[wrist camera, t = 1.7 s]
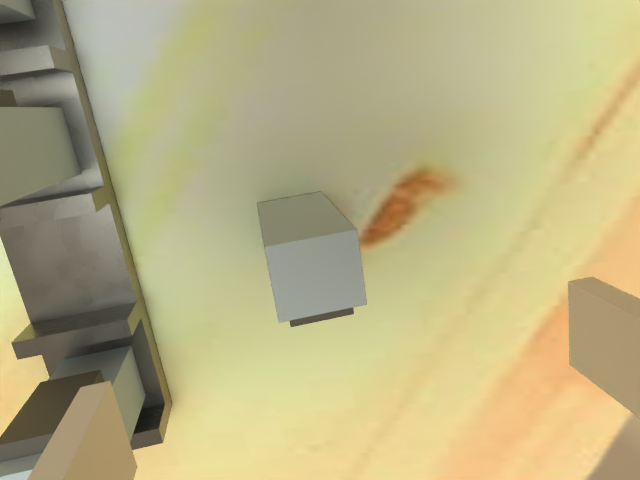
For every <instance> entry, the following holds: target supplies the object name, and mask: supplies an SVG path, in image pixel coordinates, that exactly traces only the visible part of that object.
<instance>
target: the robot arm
mask: <svg viewBox="0 0 640 480" xmlns="http://www.w3.org/2000/svg"><path fill="white" fill-rule="evenodd" d="M568 301H569V364H570V365H571V366H572V367H573V368H575V369H576V370H577V371H579V372H580V373H581V374H583V375H584V376H585V377H587V378H588V379H589V380H590V381H592V382H593V383H594V384H596V385H597V386H598V387H600V388H601V389H602V390H603V391H605V392H606V393H607V394H609V395H610V396H611V397H613V398H614V399H615V400H617V401H618V402H619V403H620V404H622V405H623V406H624V407H626V408H627V409H628V410H630V411H631V412H632V413H634V414H635V415H636V416H637V417H639V418H640V299H639V298H637V297H635V296H633V295H630V294H628V293H626V292H624V291H622V290H620V289H618V288H615V287H613V286H611V285H609V284H607V283H605V282H603V281H600V280H598V279H596V278H594V277H588V278H583V279H579V280H574V281H569V282H568ZM136 469H137V465H136V461H135V458H134V455H133V452H132V448H131V445H130V442H129V439H128V436H127V432H126V429H125V426H124V423H123V419H122V416H121V413H120V410H119V407H118V403H117V400H116V397H115V394H114V391H113V387H112V384H111V381H107V382H102V383H98V384H93V385H88V386H84V387H80V389H79V391H78V392H77V394H76V396H75V398H74V399H73V401H72V403H71V405H70V406H69V408H68V410H67V411H66V413H65V415H64V417H63V418H62V420H61V422H60V424H59V425H58V427H57V429H56V430H55V432H54V434H53V436H52V437H51V439H50V441H49V443H48V444H47V446H46V448H45V449H44V451H43V453H42V455H41V456H40V458H39V460H38V462H37V463H36V465H35V467H34V469H33V470H32V472H31V474H30V475H29V477H28V479H27V480H133V479H134V476H135V473H136Z"/></svg>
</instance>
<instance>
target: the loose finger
mask: <svg viewBox="0 0 640 480" xmlns="http://www.w3.org/2000/svg"><path fill="white" fill-rule="evenodd" d="M257 207H258V213H259V219H260V225H261V231H262V237H263V243H264V249H265V254H266V259H267V264H268V269H269V275H270V280H271V285H272V290H273V295H274V300H275V305H276V311H277V316H278V321H279V323H280V322H285V321H290V325H291V327H294V326H299V325H303V324H308V323H313V322H318V321H322V320H327V319H332V318H337V317H341V316H346V315H351V314H354V312H353V307H357V306H362V305H366V304H367V299H366V291H365V284H364V277H363V270H362V262H361V255H360V248H359V240H358V233H357V229H356V228H355V227H354V226H353V225H352V224H351V223H350V222H349V221H348V219H347V218H346V217H345V216H344V215H343V214H342V213H341V212H340V211H339V210H338V209H337V208H336V207H335V206H334V205H333V204H332V203H331V202H330V201H329V200H328V199H327V198H326V197H325V195H324V194H323V193H322V192H315V193H309V194H304V195H298V196H293V197H287V198H282V199H276V200H271V201H265V202H260V203H257Z"/></svg>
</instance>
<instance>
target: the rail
mask: <svg viewBox="0 0 640 480" xmlns="http://www.w3.org/2000/svg"><path fill="white" fill-rule="evenodd" d="M31 4H32V7H33V11H34V14H35V18H36V19H33V20H25V21H18V22H11V23H3V24H0V89H2V90H13V93H14V96H15V100H16V103H17V106H18V107H60V108H62V110H63V114H64V117H65V120H66V124H67V127H68V131H69V134H70V138H71V141H72V144H73V148H74V151H75V155H76V158H77V162H78V165H79V168H80V172H81V174H79V175H76V176H74V177H71V178H69V179H66V180H64V181H61V182H59V183H56V184H54V185H51V186H49V187H46V188H44V189H41V190H39V191H36V192H34V193H32V194H29V195H27V196H24V197H22V198H19V199H17V200H14V201H12V202H9V203H7V204H4V205H2V206H0V236H1V239H2V242H3V245H4V248H5V251H6V254H7V256H8V259H9V262H10V265H11V268H12V271H13V274H14V276H15V279H16V282H17V285H18V288H19V291H20V293H21V296H22V299H23V302H24V305H25V308H26V311H27V313H28V316H29V319H30V322H31V323H30V324H29V325H28V326H27V327H26V328H25V329H24V331H23V332H22V333H21V334H20V335H19V336H18V337H17V338H16V339H15V340H14V341H13V342H12V346H13V349H14V351H15V354H16V357H17V359H23V358H27V357H32V356H37V355H42V356H43V359H44V362H45V365H46V368H47V371H48V373H49V376H50V377H51V375H52V374H53V372H54V371H55V370H56V368H57V367H58V365H59V364H60V363H61V361H62V360H64V359H69V358H74V357H79V356H83V355H88V354H93V353H98V352H103V351H108V350H112V349H117V348H122V347H127V346H131V347H132V350H133V354H134V357H135V361H136V364H137V367H138V371H139V374H140V378H141V381H142V385H143V388H144V391H145V395H146V396H145V399H144V402H143V405H142V408H141V411H140V414H139V417H138V420H137V423H136V426H135V429H134V432H133V435H132V438H131V441H130V445H131V448H132V450H134V449H138V448H143V447H147V446H151V445H156V444H160V443H163V441H164V436H165V432H166V428H167V424H168V419H169V415H170V411H171V407H172V401H171V398H170V394H169V390H168V387H167V383H166V379H165V376H164V372H163V368H162V365H161V361H160V358H159V354H158V350H157V347H156V343H155V339H154V336H153V332H152V329H151V325H150V321H149V318H148V314H147V310H146V307H145V303H144V299H143V296H142V292H141V289H140V285H139V281H138V278H137V274H136V270H135V267H134V263H133V260H132V256H131V252H130V249H129V245H128V241H127V238H126V234H125V231H124V227H123V223H122V220H121V216H120V212H119V209H118V205H117V201H116V198H115V194H114V191H113V187H112V183H111V180H110V176H109V172H108V169H107V165H106V162H105V158H104V154H103V151H102V147H101V143H100V140H99V136H98V133H97V129H96V125H95V122H94V118H93V114H92V111H91V107H90V103H89V100H88V96H87V93H86V89H85V85H84V82H83V78H82V74H81V71H80V67H79V64H78V60H77V56H76V53H75V49H74V45H73V42H72V38H71V34H70V31H69V27H68V24H67V20H66V16H65V13H64V9H63V5H62V2H61V0H31Z"/></svg>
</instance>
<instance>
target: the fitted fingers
mask: <svg viewBox="0 0 640 480" xmlns="http://www.w3.org/2000/svg"><path fill="white" fill-rule="evenodd" d="M33 19H36V18H35V14H34V11H33V7H32V4H31V0H0V24H3V23H11V22H18V21H25V20H33ZM79 174H81V172H80V168H79V165H78V162H77V158H76V155H75V151H74V148H73V144H72V141H71V138H70V134H69V131H68V127H67V124H66V120H65V117H64V114H63V110H62V108H60V107H18V106H17V103H16V100H15V96H14V93H13V90H2V89H0V206H2V205H4V204H7V203H9V202H12V201H14V200H17V199H19V198H22V197H24V196H27V195H29V194H32V193H34V192H36V191H39V190H41V189H44V188H46V187H49V186H51V185H54V184H56V183H59V182H61V181H64V180H66V179H69V178H71V177H74V176H76V175H79ZM107 381H111V384H112V387H113V391H114V394H115V397H116V400H117V403H118V407H119V410H120V413H121V416H122V419H123V423H124V426H125V429H126V432H127V436H128V439H129V442H130V441H131V438H132V435H133V432H134V429H135V426H136V423H137V420H138V417H139V414H140V411H141V408H142V405H143V402H144V399H145V396H146V395H145V391H144V388H143V385H142V381H141V378H140V374H139V371H138V367H137V364H136V361H135V357H134V354H133V350H132V347H131V346H127V347H122V348H117V349H112V350H108V351H103V352H98V353H93V354H88V355H83V356H79V357H74V358H69V359H64V360H62V361H61V363H60V364H59V365H58V367H57V368H56V370H55V371H54V372H53V374H52V375H51V377H50V378H49V379H48V381H44V382H40V384H39V385H38V387H37V388H36V389H35V391H34V392H33V393H32V395H31V396H30V397H29V399H28V400H27V402H26V403H25V404H24V406H23V407H22V408H21V410H20V411H19V412H18V414H17V415H16V417H15V418H14V419H13V421H12V422H11V423H10V425H9V426H8V427H7V429H6V430H5V432H4V433H3V434H2V436H1V437H0V480H27V479H28V477H29V475H30V474H31V472H32V470H33V469H34V467H35V465H36V463H37V462H38V460H39V458H40V456H41V455H42V453H43V451H44V449H45V448H46V446H47V444H48V443H49V441H50V439H51V437H52V436H53V434H54V432H55V430H56V429H57V427H58V425H59V424H60V422H61V420H62V418H63V417H64V415H65V413H66V411H67V410H68V408H69V406H70V405H71V403H72V401H73V399H74V398H75V396H76V394H77V392H78V391H79V389H80V387H84V386H88V385H93V384H98V383H102V382H107Z"/></svg>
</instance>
